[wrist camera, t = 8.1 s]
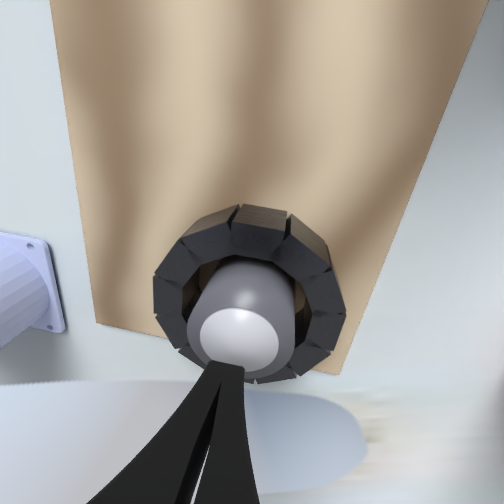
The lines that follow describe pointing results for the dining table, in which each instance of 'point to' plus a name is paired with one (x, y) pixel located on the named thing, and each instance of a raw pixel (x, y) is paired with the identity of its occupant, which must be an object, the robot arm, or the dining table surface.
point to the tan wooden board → (251, 128)
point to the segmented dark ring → (261, 247)
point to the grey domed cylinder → (245, 316)
